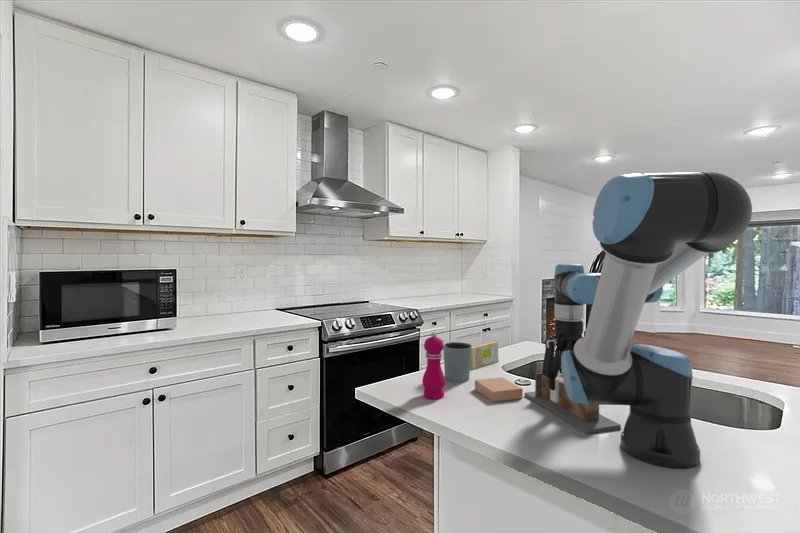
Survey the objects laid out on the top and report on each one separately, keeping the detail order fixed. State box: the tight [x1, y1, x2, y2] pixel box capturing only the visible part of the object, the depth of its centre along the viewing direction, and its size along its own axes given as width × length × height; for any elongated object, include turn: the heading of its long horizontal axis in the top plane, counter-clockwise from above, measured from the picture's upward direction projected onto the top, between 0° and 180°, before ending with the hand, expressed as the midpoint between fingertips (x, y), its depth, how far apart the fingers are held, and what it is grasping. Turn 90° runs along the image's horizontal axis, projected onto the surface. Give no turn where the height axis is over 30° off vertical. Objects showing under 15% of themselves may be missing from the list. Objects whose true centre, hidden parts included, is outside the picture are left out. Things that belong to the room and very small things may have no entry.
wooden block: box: [534, 372, 600, 422], centre depth 118 cm, size 21×7×7 cm, turn 16°
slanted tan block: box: [474, 377, 524, 403], centre depth 132 cm, size 4×10×12 cm
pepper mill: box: [421, 331, 447, 400], centre depth 130 cm, size 7×7×20 cm
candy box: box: [470, 341, 499, 370], centre depth 165 cm, size 16×2×8 cm, turn 130°
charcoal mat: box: [524, 391, 622, 434], centre depth 118 cm, size 28×10×1 cm, turn 16°
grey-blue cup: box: [442, 341, 473, 383], centre depth 147 cm, size 10×10×12 cm
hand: (567, 399), depth 118 cm, fingers open, 8 cm apart
